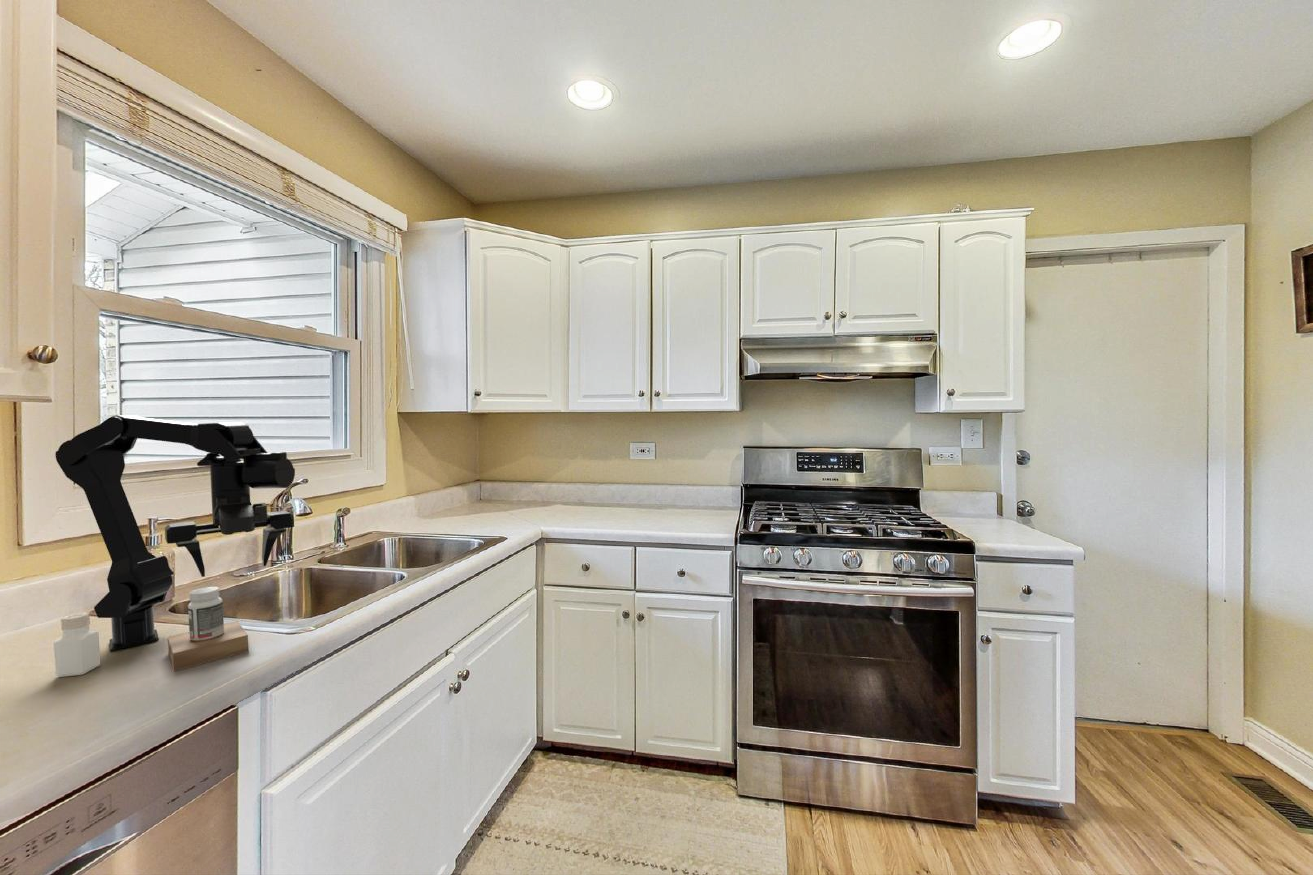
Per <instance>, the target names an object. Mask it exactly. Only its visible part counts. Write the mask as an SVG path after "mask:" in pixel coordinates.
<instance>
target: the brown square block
mask: <svg viewBox="0 0 1313 875" xmlns="http://www.w3.org/2000/svg"><path fill="white" fill-rule="evenodd" d="M167 647H168V648H167V650H168V655H169V659H170V662H171V666H172V670H173V671H174V672H176V671H180V670H183V669H187V668H191V667H195V666H200V665H203V664H206V663H210V662H214V661H218V660H222V659H225V658H229V657H233V656H237V655H241V654H244V653H249V650H250V649H249V635H248V634H247V632H246V631H245V629H244V628H243V627H242V625H241V624H240V622H239V620H237V621H232V622H228V623H224V633H223V634H221V635H220V636H217V637H215V638H212V639H208V640H202V641H193V640H191V639H190V632H184V633H178V634H175V635H172V636H167Z"/></svg>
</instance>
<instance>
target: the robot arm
mask: <svg viewBox="0 0 1313 875" xmlns="http://www.w3.org/2000/svg"><path fill="white" fill-rule="evenodd" d="M138 439H140V440H150V441H158V442H165V443H175V444H185V445H188V446H190V447H193V449H196V450H198V451H202V452H206V453H207V454H206V455H205V456H204V457H203V458H201V459H200V460H199V461H197V463H196V465H197V467H209V470H210V471H209V472H210V474H209V476H210V493H211V495H210V496H211V512H212V515H211V517H212V523H206V524H205V523H204V524H196V523H195V521H194V520H192V521H191V520H190V521H183V522H176V523H175V522H174V523H168V524H167V525H166V526H165V527H164V537H165V538H164V539H165V541H166V543H167V545H168V544H171V545H172V544H175V545H176V547H178V548H182V547H184V548H185V549H186V550H187V552H188V553H189V554H190V555H191V557H192V559H193V561H194V563H195V565H196V568H197V570H198V572H199V574H200V576H201V577H202V578H203V577H205V576H206V569H205V568H206V567H205V565H204V560H203V555H202V551H201V545H200V541H199V539H198V536H202V535H210V534H218V533H220V534H222V535H225V536H228V535H230V536H231V535H233V534H237V533H243V532H244V533H251V532H253V531H255V529H256V528H262V527H263V528H262V544H261V560H262V561H261V562H262V566H263V567H266V566H267V565H268V561H269V559H270V556H271V552H272V551H273V550H272V549H273V547H274V544H275V543H276V541H277V539H278V538H279V536H280V535H281V534H285V533H286V532H287V529H291V528H294V527H295V517H294V515H293V514H292V513H290V512H289V511H287V510H280V511H270V512H268V506H267V504H266V502H260V503H254V504H252V502H251V489H257V490H258V489H286V488H289V487H290V486H291V485H292V484H293V483H294V479H295V476H296V469H295V467H294V466H293V465H294V464H293V463H292V462H291V460H290V459H289V458H288V457H287V455H288V454H287V452H286V451H281V452H280V451H278V452H271V453H270V452H269V453H268V451H267V450H266V449H265V447H263V445H262V444H261V443H260V442H259V441H258V439H257V438H256V437H255V436H254V433H253V430H252V429H251V428H250V426H249V424H246V423H243V422H213V423H212V422H209V423H193V422H182V421H174V420H168V419H167V420H166V419H156V418H149V417H142V416H140V415H129V414H128V415H125V414H124V415H112V416H110V417H108V418H106V419H105V420H103V421H102V422H100V424H99V425H96V426H94V427H91V428H90V429H87V430H85V431H83V432H81V433H78V434H76V435H75V436H74V437H72V438H71V439H69V440H66V441H63V442H62V443H61V444H60V446H59V447H58V450H56V451H55V460H56V462H57V465H58V466H59V468H60V469H61V471H62V472H63V475H64V476H65V477H66V478H67V479H69V480H70V481H71V482H73V483H74V484H76V485H77V486H78V487H80V488H81V489H82V490H83V492H84V494H85V496H86V500H87V501H88V504H89V507H90V509H91V511H92V514H93V516H94V519H95V522H96V524H97V527H98V529H99V532H100V535H101V537H102V539H103V542H104V545H105V547H106V549H107V552H108V555H109V557H110V559H111V565H110V568H109V570H108V571H109V572H108V573H107V576H106V577H107V579H106V581H107V588H108V590H109V591H108V592H107V593H106V594H105V596H103V597H102V599H101V600H99V601H98V602H97V603H96V604H95V605H94V607H93V609H94V612H95V615H96V616H97V618H99V619H102V618H103V619H106V618H107V619H108V618H109V619H111V636H112V637H111V638H110V639H109V651H110V652H112V651H119V650H121V649H127V648H130V647H134V646H135V647H136V646H139V645H143V644H148V643H151V642H156V641H159V640H160V638H159V637H160V636H159V634H158V631H157V630H158V629H155V618H154V617H155V615H154V605H157V604H160V603H163V602H165V599H166V596H167V595H168V594H167V593H168V591H169V590H170V588H171V586H172V585H173V576H174V575H175V572H174V571H173V570H172V569H171V567H170V564H169V560H168V558H167V556H166V555H163V554H162V555H161V556H155V555H154V554H152V553H151V552H149V549H147V546H146V544H145V541H144V538H143V535H142V533H141V530H140V528H139V526H138V523H137V520H136V517H135V515H134V512H133V509H132V507H131V504H130V502H129V500H128V497H127V495H126V492H125V490H124V487H123V485H122V481H121V479H122V476H123V474H124V470H125V467H126V462H125V457H124V456H125V455H126V454H127V453H129V452H130V451H131V450H132V449H133V448H134V447H135V445H136V443H137V441H138ZM250 488H251V489H250Z"/></svg>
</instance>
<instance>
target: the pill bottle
mask: <svg viewBox="0 0 1313 875" xmlns="http://www.w3.org/2000/svg"><path fill="white" fill-rule="evenodd" d="M189 600H190V603H188V605H187V613H188V614H187V615H188V628H189V629H188V630H189V632H190V639H191V640H193V641H202V640H208V639H212V638H215V637H217V636H220V635H221V634H223V633H224V624H225V622H224V607H223V606H224V605H223V604H224V602H223V599H222V597H220V588H219V587H218V586H207V587H201V588H197V589H194V590H192V591H190V592H189Z"/></svg>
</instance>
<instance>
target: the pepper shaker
mask: <svg viewBox="0 0 1313 875" xmlns="http://www.w3.org/2000/svg"><path fill="white" fill-rule="evenodd" d="M90 620H91V618H90V613H89V612H77V613H72V614H68V615H65V616H62V617H61V619H60V622H61V624H60V625H61V631H62V636H59V637H58V638H57V639H55V641H53V652H54V667H55V668H54V669H55V676H56V677H57V678H62V677H73V676H74V677H75V676H81V675H85V674H87V673H88V672H90V671H92V670H94V669H96V668H97V667H99V666H100V664H101V651H100V648H101V647H100V634H99V631H97V630H92V629H90V624H91V621H90Z"/></svg>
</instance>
